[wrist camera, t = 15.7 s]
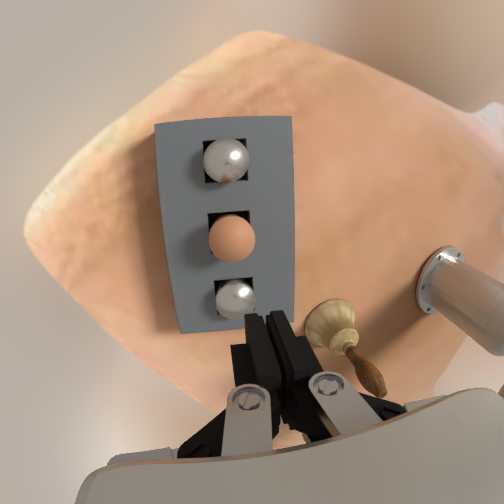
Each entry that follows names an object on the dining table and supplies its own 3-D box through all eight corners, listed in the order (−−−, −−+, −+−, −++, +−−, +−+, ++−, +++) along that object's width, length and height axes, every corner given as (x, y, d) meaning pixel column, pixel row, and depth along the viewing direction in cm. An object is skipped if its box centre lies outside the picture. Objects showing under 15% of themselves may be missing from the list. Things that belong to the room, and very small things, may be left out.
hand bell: (349, 289, 39) (411, 353, 24) (358, 330, 42) (411, 396, 27) (297, 313, 39) (340, 393, 24) (312, 353, 42) (351, 429, 27)
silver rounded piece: (248, 265, 35) (255, 282, 30) (250, 297, 36) (256, 317, 32) (213, 269, 34) (213, 286, 30) (216, 300, 36) (217, 321, 31)
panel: (282, 121, 31) (291, 116, 27) (285, 306, 38) (293, 321, 34) (161, 128, 29) (154, 124, 25) (182, 316, 37) (180, 333, 33)
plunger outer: (242, 140, 30) (248, 136, 25) (244, 178, 32) (250, 181, 27) (203, 143, 30) (201, 139, 25) (205, 181, 31) (204, 184, 26)
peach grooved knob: (247, 207, 31) (254, 215, 26) (249, 245, 32) (256, 260, 28) (207, 210, 31) (206, 219, 26) (210, 248, 32) (211, 264, 27)
